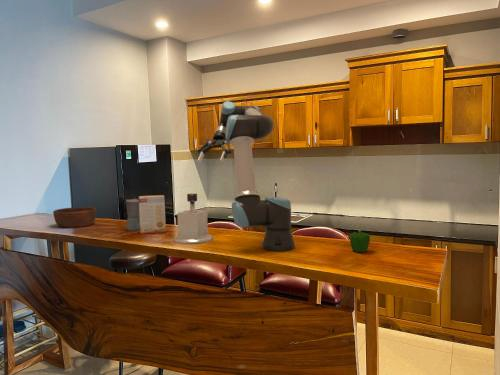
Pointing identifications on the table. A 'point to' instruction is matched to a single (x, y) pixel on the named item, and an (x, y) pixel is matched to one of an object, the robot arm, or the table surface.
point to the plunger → (192, 201)
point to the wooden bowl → (75, 217)
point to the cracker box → (152, 214)
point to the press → (192, 228)
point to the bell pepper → (359, 241)
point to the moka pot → (132, 214)
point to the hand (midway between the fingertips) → (210, 161)
